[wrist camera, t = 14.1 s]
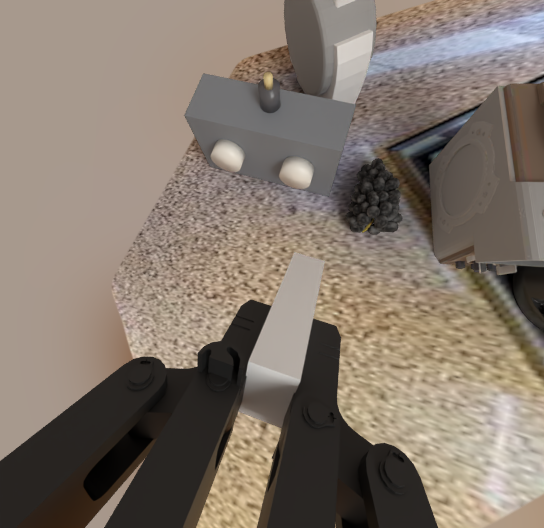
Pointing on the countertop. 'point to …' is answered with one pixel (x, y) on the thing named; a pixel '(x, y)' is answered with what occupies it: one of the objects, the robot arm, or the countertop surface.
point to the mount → (271, 129)
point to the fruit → (375, 200)
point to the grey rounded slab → (331, 45)
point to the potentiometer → (269, 93)
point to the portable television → (493, 185)
